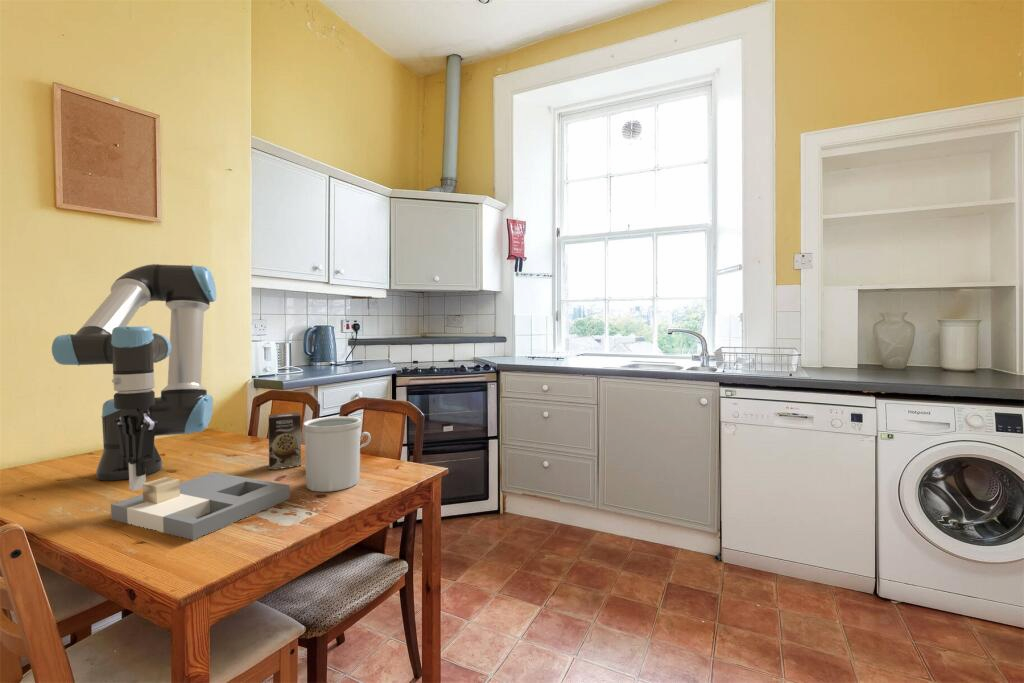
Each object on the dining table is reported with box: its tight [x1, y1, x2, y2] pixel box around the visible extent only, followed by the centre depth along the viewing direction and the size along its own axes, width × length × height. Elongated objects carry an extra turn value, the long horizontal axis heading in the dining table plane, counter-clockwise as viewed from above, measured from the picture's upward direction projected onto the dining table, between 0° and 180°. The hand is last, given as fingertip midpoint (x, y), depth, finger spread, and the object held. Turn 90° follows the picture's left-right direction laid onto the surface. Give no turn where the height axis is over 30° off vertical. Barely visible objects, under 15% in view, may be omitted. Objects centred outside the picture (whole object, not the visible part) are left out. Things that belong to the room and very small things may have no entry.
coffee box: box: [268, 412, 302, 470], centre depth 143 cm, size 9×6×16 cm
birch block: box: [142, 476, 181, 504], centre depth 107 cm, size 5×5×4 cm
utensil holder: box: [302, 416, 362, 493], centre depth 126 cm, size 15×15×18 cm
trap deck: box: [110, 471, 291, 541], centre depth 109 cm, size 28×24×4 cm
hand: (137, 488), depth 109 cm, fingers closed
